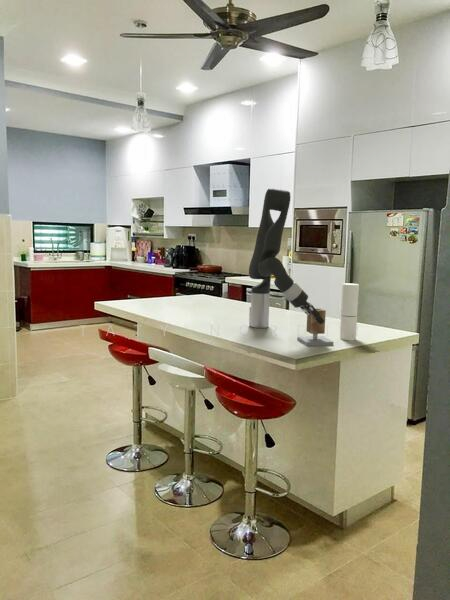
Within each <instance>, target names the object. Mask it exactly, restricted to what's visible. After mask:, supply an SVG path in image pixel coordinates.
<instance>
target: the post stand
mask: <svg viewBox="0 0 450 600" xmlns="http://www.w3.org/2000/svg"><path fill="white" fill-rule="evenodd" d="M296 340H297V341H298V342H300V343H302V344H303V345H304V346H306V347H315V346H318V347H319V346H322V347H323V346H334V344H335V342H334V341H333V340H331V339H329V338H327V337H326V336H323V335H318V334H312V336H309V335H308V336H305V335H304V336H300V335H299V336H297V338H296Z"/></svg>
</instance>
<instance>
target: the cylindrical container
mask: <svg viewBox="0 0 450 600" xmlns="http://www.w3.org/2000/svg"><path fill="white" fill-rule="evenodd" d="M341 286H342V288H341V289H342V290H341V291H342V292H341V310H340V311H341V312H340V322H339V323H340V326H339V339H340V340H343V341H357V340H356V339H357V328H358V326H357V324H358V323H357V322H358V307H359V293H360V291H359V289H360V284H358V283H346V282H345V283H344V282H343V283H342V285H341Z"/></svg>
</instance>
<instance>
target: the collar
mask: <svg viewBox="0 0 450 600" xmlns="http://www.w3.org/2000/svg"><path fill="white" fill-rule="evenodd" d="M315 309H316V310H317V311H318V312H319V313H320V317H321V318H322V319H323V320H324V322H323V323H322V324H320V323H319V322H318V321H317V320H316V319H315V318H314V317H313V316H312V315H311V316H310V315H309V314H306V332H308V333H309V334H312V335H313V334H319V335H321V334H322V335H323V334H325V333H326V315H327V313H326V312H327V310H325V309H323V308H315ZM314 315H316V313H314Z"/></svg>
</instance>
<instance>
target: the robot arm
mask: <svg viewBox="0 0 450 600" xmlns="http://www.w3.org/2000/svg"><path fill="white" fill-rule="evenodd" d="M290 203H291V192H290V191H289V190H286V189H285V190H284V189H279V188H274V187H272V188H271V187H269V188H268V189H267V190H266V192H265V195H264V199H263V206H262V213H261V219H260V222H259V227H258V230H257V235H256V238H255V245H254V250H253V253H252V257H251V260H250V263H249V267H248V276H249V278H250V279H252V280H262V281H261V282H260V283H259V284H257V285H253V286H252V287H251V290H250V291H251V295H250V296H251V297H250V301H251V302H250V303H251V304H250V307H249V314H248V315H249V319H248V321H249V322H248V325H249V326H250V327H252V328H256V329H262V328H264V329H266V328H269V325H270V297H271V294H270V293H271V292H270V291H271V280H272V278H271V277H272V275H273V276H274V281H273V285H275V287H276V288H277V289H278V290H279V291H280V292H281V293H282V295H283V296H284V298H286V299H287V301H288V302H289V303H290V304H291V306H293V307H294V308H296V309H297V308H300V310H301V311H303V313H304V314H306V315H307V314H309V315H310V316H311V315H312V316H313V317H314V318H315V319H316V320H317V321H318V322H319V323H320V324H322V323H323V322H324V320H323V319H322V318H321V317H320V313H319V312H318V311H317V310H316V309H317V308H315V307H314V305H312V303H310V302H308V299H309V295H308V294H307V293H306V291H304V289H303V288H302V287H301V286H300V285H299V284H298V283H297V282H296V281H294V279H292V277H291V276H290V275H289V274H288V272H287V270H286V268H285V266H284V264H283V263H282V261H281V260H280V259H279V258H277V256H278V255H279V253H280V251H281V245H282V239H283V238H282V237H283V232H284V228H285V224H286V220H287V217H288V213H289V209H290V205H291V204H290ZM271 211H275V212H280V213H279V216H278V217H277V219H276V220H275V222H274V221H273V218H272V214H271ZM314 313H316V315H314Z"/></svg>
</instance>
